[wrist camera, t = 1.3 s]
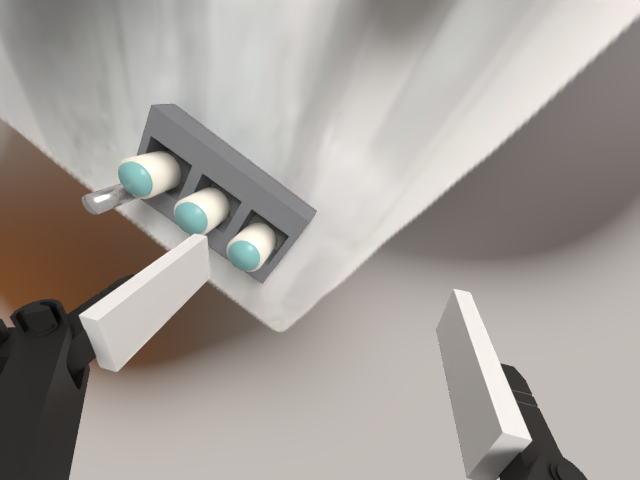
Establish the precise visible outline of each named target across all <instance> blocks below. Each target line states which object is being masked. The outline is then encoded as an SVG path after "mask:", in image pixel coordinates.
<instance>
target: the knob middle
mask: <svg viewBox="0 0 640 480" xmlns="http://www.w3.org/2000/svg"><path fill="white" fill-rule="evenodd" d="M229 214H230V204H229V201H228V199H227V198H226V196H225V195H224V194H223V193H222V192H221V191H219V190H218V189H215V188H212V187H207V188H204V189H202V190H200V191H197V192H195V193H193V194H191V195H189V196H187V197H185V198H183V199H181V200H179V201H178V202H177V203H176V205H175V207H174V217H175V220H176V222H177V224H178V225H179V226H180V228H181V229H183V230H184V231H185V232H186V233H188V234H190V235H193V234H194V233H195V234H200V235H205V234H207V233H208V232H209V231H211V230H212V229H213V228H215V227H216V226H217V225H219V224H220V223H221V222H223V221H224V220H225V219H227V217H228V216H229Z"/></svg>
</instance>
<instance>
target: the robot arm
mask: <svg viewBox="0 0 640 480" xmlns="http://www.w3.org/2000/svg"><path fill="white" fill-rule="evenodd" d="M210 277H211V270H210V260H209V250H208V239H207V236H204V235H200V234H195V233H194V234H193V235H192V236H190V237H189V238H187V239H186V240H185V241H183V242H182V243H180V244H179V245H178V246H176V247H175V248H173V249H172V250H170V251H169V252H168V253H166V254H165V255H163V256H162V257H161V258H159V259H158V260H156V261H155V262H153V263H152V264H151V265H149V266H148V267H146V268H145V269H144V270H142V271H141V272H139V273H138V274H136V275H133V274H132V275H129V276H126V277H124V278H121V279H119V280H117V281H116V282H114V283H113V284H112V285H110V286H109V287H108V288H106V289H104V290H103V291H101V292H100V293H99V294H97V295H95V296H94V297H92V298H91V299H90V300H88V301H86V302H85V303H84V304H82V305H81V306H79V307H78V308H76V309H75V310H73V311H72V312H71V313H69V314H66V312H65V310H64V308H63V305H62V303H61V302H59V301H58V300H55V299H44V300H39V301H35V302H32V303H29V304H27V305H25V306H22V307H21V308H19V309H18V310H16V311H15V312H14V313H13V314H12V315H11V316H10V318H11V320H12V322H13V324H14V325H15V327H11V328H7V327H6V325H5V324H4V322H3V320H2V319H0V480H69V475H70V470H71V464H72V459H73V454H74V449H75V444H76V439H77V434H78V429H79V424H80V419H81V413H82V408H83V403H84V397H85V393H86V387H87V382H88V377H89V372H90V367H89V363H90V362H91V361H92V360H93V359H94V358H95V357H96V358H97V361H98V363H99V366H100V367H102V368H105V369H108V370H112V371H115V372H117V371H119V370H120V369H121V368H122V366H123V365H124V364H125V363H126V362H127V361H128V360H129V359H130V358H131V357H132V356H133V355H134V354H135V353H136V352H137V351H138V350H139V349H140V348H141V347H142V346H143V345H144V344H145V343H146V342H147V341H148V340H149V339H150V338H151V337H152V336H153V335H154V334H155V333H156V332H157V331H158V330H159V329H160V328H161V327H162V326H163V325H164V324H165V323H166V322H167V321H168V320H169V319H170V318H171V317H172V316H173V315H174V314H175V313H176V312H177V311H178V310H179V309H180V308H181V307H182V306H183V304H185V302H186V301H187V300H188V299H189V298H190V297H191V296H192V295H193V294H194V293H195V292H196V291H197V290H198V289H199V288H200V287H201V286H202V285H203V284H204V283H205V282H206V281H207V280H208V279H209V278H210ZM436 331H437V336H438V341H439V346H440V351H441V356H442V361H443V366H444V370H445V375H446V380H447V385H448V390H449V394H450V399H451V404H452V409H453V414H454V419H455V424H456V428H457V433H458V438H459V443H460V448H461V453H462V457H463V462H464V467H465V472H466V477H467V478H469V479H472V480H497V479H498V478H499V477H500V480H587V478H586V477H585V476H584V474H583V473H582V472H581V471H580V470H579V469H578V468H577V467H576V466H575V465H574V464H573V463H571V462H570V461H568V460H567V459H565V458H564V457H563V456H562V454H561V453H560V450H559V449H558V447H557V444H556V442H555V440H554V438H553V436H552V434H551V432H550V430H549V428H548V426H547V424H546V422H545V420H544V418H543V415H542V414H541V411H540V409H539V408H538V407H537V406H538V405H537V403H536V401H535V399H534V397H532V393H531V391H530V389H529V387H528V384H527V383H526V380H525V379H524V378H523V377H522V376H521V374H520V373H519V372H518V371H517V370H516V369H515V368H514V367H513V366H509V365H505V364H500V363H499V360H498V358H497V356H496V353H495V351H494V348H493V346H492V343H491V341H490V339H489V337H488V334H487V332H486V329H485V327H484V325H483V322H482V320H481V317H480V315H479V313H478V310H477V308H476V305H475V303H474V301H473V298H472V296H471V294H470V292H466V291H461V290H456V289H453V292H452V294H451V296H450V299H449V301H448V303H447V305H446V308H445V310H444V312H443V315H442V317H441V319H440V322H439V324H438V326H437V328H436Z"/></svg>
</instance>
